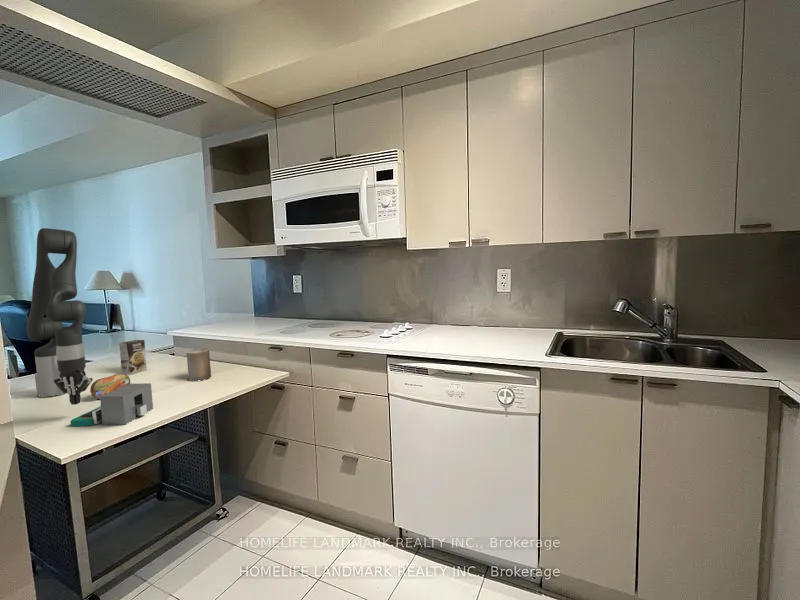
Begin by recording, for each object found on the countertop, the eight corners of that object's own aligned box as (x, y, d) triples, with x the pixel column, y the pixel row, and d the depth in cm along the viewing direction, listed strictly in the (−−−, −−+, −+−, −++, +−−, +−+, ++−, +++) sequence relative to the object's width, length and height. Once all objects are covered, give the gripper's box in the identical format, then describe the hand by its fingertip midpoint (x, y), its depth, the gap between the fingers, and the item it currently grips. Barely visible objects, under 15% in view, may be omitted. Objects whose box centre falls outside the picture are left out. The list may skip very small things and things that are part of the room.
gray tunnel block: (102, 424, 131) (99, 396, 130) (132, 409, 145) (130, 383, 144) (125, 424, 131) (122, 396, 130) (153, 409, 144) (150, 383, 144)
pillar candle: (215, 376, 187) (213, 345, 186) (200, 381, 177) (198, 350, 176) (199, 375, 189) (196, 345, 188) (183, 381, 180) (180, 349, 179)
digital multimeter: (123, 410, 145) (122, 403, 144) (90, 427, 130) (90, 419, 130) (104, 411, 145) (103, 403, 145) (69, 427, 130) (68, 419, 130)
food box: (131, 375, 192) (128, 343, 190) (121, 374, 193) (118, 342, 192) (147, 370, 200) (145, 339, 199) (138, 369, 202) (135, 339, 201)
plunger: (93, 424, 131) (92, 411, 130) (137, 401, 152) (136, 391, 151) (129, 423, 130) (128, 411, 130) (168, 401, 151) (168, 390, 151)
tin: (95, 402, 154) (93, 381, 153) (89, 401, 155) (87, 380, 154) (131, 390, 168) (130, 371, 167) (126, 389, 169) (124, 370, 168)
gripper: (97, 354, 140) (101, 400, 141) (62, 354, 140) (67, 399, 142) (79, 359, 132) (84, 408, 134) (42, 359, 133) (47, 407, 134)
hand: (75, 403), depth 138 cm, fingers closed
